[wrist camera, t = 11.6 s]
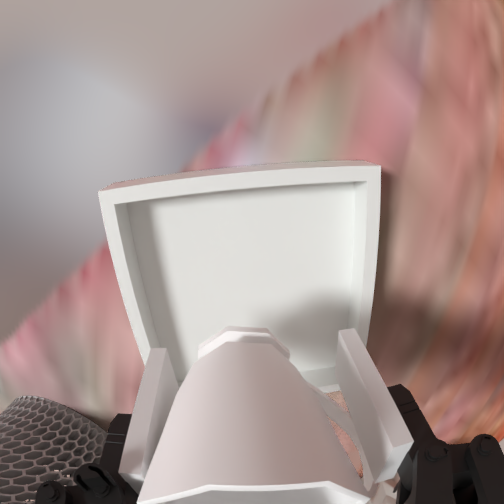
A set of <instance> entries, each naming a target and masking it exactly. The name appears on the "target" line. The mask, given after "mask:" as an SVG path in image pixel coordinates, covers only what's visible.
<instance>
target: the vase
mask: <svg viewBox="0 0 504 504" xmlns="http://www.w3.org/2000/svg"><path fill="white" fill-rule="evenodd" d="M399 480H400V477H399V474H398V472H397V473H396V474H395V476H394V478H391V479H388V480H385V481H382V482H379V485H378V488H377V490H376V493H375V495H374V496H373V497H371V499H370V500H369V501H368V502H367V503H366V504H396V497H397V491H396V492H395V493H393V490H394V487H395V486H396V484H397V483H398V481H399ZM361 481H362V483H363V484H364V478H363V477H362V478H361Z"/></svg>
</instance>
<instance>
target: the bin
mask: <svg viewBox="0 0 504 504" xmlns="http://www.w3.org/2000/svg"><path fill="white" fill-rule="evenodd" d="M98 195H99V200H100V206H101V211H102V216H103V221H104V226H105V230H106V235H107V239H108V244H109V248H110V252H111V256H112V260H113V264H114V268H115V272H116V276H117V280H118V283H119V287H120V290H121V294H122V298H123V301H124V304H125V308H126V311H127V314H128V318H129V321H130V324H131V327H132V330H133V333H134V336H135V339H136V342H137V345H138V348H139V351H140V354H141V357H142V359H143V362H144V365H145V366H146V363H147V359H148V356H149V353H150V349H151V348H167V351H168V354H169V357H170V361H171V364H172V367H173V370H174V374H175V377H176V380H177V383H178V386H179V389H180V387H181V385H182V383H183V381H184V380H185V378H186V376H187V374H188V373H189V371H190V369H191V367H192V365H193V364H194V362H196V361H197V360H198V346H199V345H200V344H201V343H203V342H204V341H206V340H207V339H209V338H210V337H212V336H213V335H215V334H216V333H218V332H219V331H220V330H222V329H223V328H225V327H226V326H239V327H256V328H267V329H268V330H269V331H270V332H271V333H272V334H273V335H274V336H275V337H276V338H277V339H278V340H279V341H280V342H281V343H282V344H283V345H284V346H286V347H287V348H288V349H289V352H290V359H289V361H290V362H291V363H292V364H293V365H294V366H295V367H296V368H297V370H298V371H299V372H300V374H301V375H302V377H303V378H304V380H306V381H307V382H309V383H310V384H312V385H314V386H315V387H317V388H318V389H319V390H321V391H322V392H323V393H329V392H335V391H340V390H341V389H340V386H339V384H338V381H337V379H336V376H335V364H336V355H337V345H338V334H339V330H345V329H351V328H355V330H356V332H357V333H358V335H359V337H360V339H361V341H362V342H363V344H364V346H365V348H366V345H367V339H368V332H369V325H370V318H371V311H372V303H373V295H374V286H375V276H376V265H377V253H378V239H379V222H380V197H381V166H380V165H377V164H374V163H371V162H368V161H365V160H338V161H311V162H292V163H276V164H262V165H250V166H238V167H228V168H218V169H208V170H200V171H191V172H183V173H175V174H168V175H161V176H154V177H147V178H140V179H134V180H128V181H122V182H116V183H113V184H111V185H109V186H107V187H106V188H103V189H102V190H100V191H98Z"/></svg>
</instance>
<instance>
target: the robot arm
mask: <svg viewBox="0 0 504 504" xmlns="http://www.w3.org/2000/svg"><path fill="white" fill-rule="evenodd" d="M335 376H336V379H337V381H338V384H339V386H340V389H341V392H342V394H343V397H344V400H345V402H346V405H347V407H348V410H349V413H350V415H351V418H352V421H353V424H354V426H355V429H356V432H357V434H358V437H359V440H360V443H361V445H362V448H363V451H364V454H365V456H366V459H367V462H368V465H369V468H370V471H371V473H372V476H373V479H374V482H375V483H378V482H382V481H385V480H388V479H391V478H394V476H395V474H396V473H397V472H398V474H399V477H400V480H399V481H398V483H397V484H396V486H395V487H394V490H393V493H395V492H396V491H397V497H396V504H504V455H503V452H502V450H501V448H500V445H499V443H498V441H497V440H496V439H495V438H494V437H493V436H491V435H488V434H480V435H478V436H476V437H475V438H474V439H473V440H472V441H471V443H466V444H456V445H449V444H447V443H446V442H444V441H442V440H439V439H437V438H436V436H435V435H434V433H433V432H432V430H431V428H430V426H429V424H428V423H427V421H426V419H425V417H424V415H423V414H422V412H421V410H419V406H418V405H417V403H416V402H415V399H414V398H413V396H412V394H411V393H410V391H409V390H408V389H406V388H405V387H404V386H402V385H401V384H399V385H395V386H391V387H386V385H385V383H384V381H383V379H382V377H381V376H380V374H379V372H378V370H377V368H376V366H375V364H374V363H373V361H372V359H371V357H370V355H369V353H368V352H367V350H366V348H365V346H364V344H363V342H362V341H361V339H360V337H359V335H358V333H357V332H356V330H355V328H351V329H345V330H339V334H338V345H337V355H336V364H335ZM178 390H179V386H178V383H177V380H176V377H175V374H174V370H173V367H172V364H171V361H170V357H169V354H168V351H167V348H151V349H150V353H149V356H148V359H147V363H146V366H145V370H144V373H143V377H142V380H141V384H140V387H139V391H138V395H137V398H136V402H135V406H134V410H133V413H132V414H117V416H116V417H115V418H114V419H113V421H112V422H111V424H110V427H109V430H108V435H107V437H106V443H105V444H104V448H103V451H102V455H101V458H100V462H99V464H96V463H86V464H84V465H81V466H80V467H79V468H78V469H76V471H75V473H74V476H73V481H74V482H75V483H76V484H77V485H74V486H63V485H62V484H60V483H59V482H57V481H54V480H49V481H45V482H43V483H42V484H41V485H40V486H39V487H38V490H37V493H36V499H35V504H137V500H138V497H139V494H140V491H141V488H142V486H143V483H144V480H145V477H146V474H147V471H148V469H149V466H150V464H151V461H152V459H153V456H154V453H155V451H156V448H157V446H158V443H159V441H160V438H161V435H162V432H163V430H164V427H165V424H166V421H167V419H168V416H169V413H170V410H171V407H172V405H173V402H174V399H175V397H176V394H177V392H178Z"/></svg>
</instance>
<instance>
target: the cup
mask: <svg viewBox="0 0 504 504" xmlns="http://www.w3.org/2000/svg"><path fill="white" fill-rule="evenodd" d="M289 359H290V352H289V349H288V348H287V347H286V346H284V345H283V344H282V343H281V342H280V341H279V340H278V339H277V338H276V337H275V336H274V335H273V334H272V333H271V332H270V331H269V330H268V329H267V328H256V327H239V326H226V327H225V328H223V329H222V330H220V331H219V332H218V333H216V334H215V335H213V336H212V337H210V338H209V339H207V340H206V341H204V342H203V343H201V344H200V345H199V346H198V360H197V361H196V362H194V364H193V365H192V367H191V369H190V371H189V373H188V374H187V376H186V378H185V380H184V381H183V383H182V385H181V387H180V389H179V390H178V392H177V394H176V397H175V399H174V402H173V405H172V407H171V410H170V413H169V416H168V419H167V421H166V424H165V427H164V430H163V432H162V435H161V438H160V441H159V443H158V446H157V448H156V451H155V453H154V456H153V459H152V461H151V464H150V466H149V469H148V471H147V474H146V477H145V480H144V483H143V486H142V488H141V491H140V494H139V497H138V500H137V504H366V503H367V502H368V501H369V500H370V499H371V497H373V496H374V495H375V493H376V490H377V488H378V485H379V482H378V483H375V482H374V479H373V476H372V473H371V471H370V468H369V465H368V462H367V459H366V456H365V454H364V451H363V448H362V445H361V443H360V440H359V437H358V434H357V432H356V429H355V426H354V424H353V421H352V418H351V415H350V413H349V412H348V411H346V410H345V409H344V408H343V407H341V406H340V405H339V404H338V403H336V402H335V401H334V400H332V399H331V398H330V397H328V396H327V395H326V394H325V393H323V392H322V391H321V390H319V389H318V388H317V387H315V386H314V385H312V384H310V383H309V382H307V381H306V380H304V378H303V377H302V375H301V374H300V372H299V371H298V370H297V368H296V367H295V366H294V365H293V364H292V363H291V362H290V361H289ZM327 416H328V417H329V418H330V419H332V420H333V421H334V422H335V423H337V424H338V425H339V426H340V427H341V428H342V429H343V430H344V431H345V432H346V433H347V434H348V435H349V436H350V438H351V439H352V441H353V442H354V444H355V446H356V447H357V449H358V451H359V454H360V458H361V462H362V466H363V478H364V484H363V483H362V481H361V479H360V477H359V475H358V473H357V471H356V469H355V468H354V466H353V464H352V462H351V461H350V459H349V457H348V455H347V453H346V452H345V450H344V448H343V446H342V444H341V443H340V441H339V439H338V437H337V435H336V433H335V431H334V429H333V427H332V425H331V423H330V421H329V419H328V417H327Z"/></svg>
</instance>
